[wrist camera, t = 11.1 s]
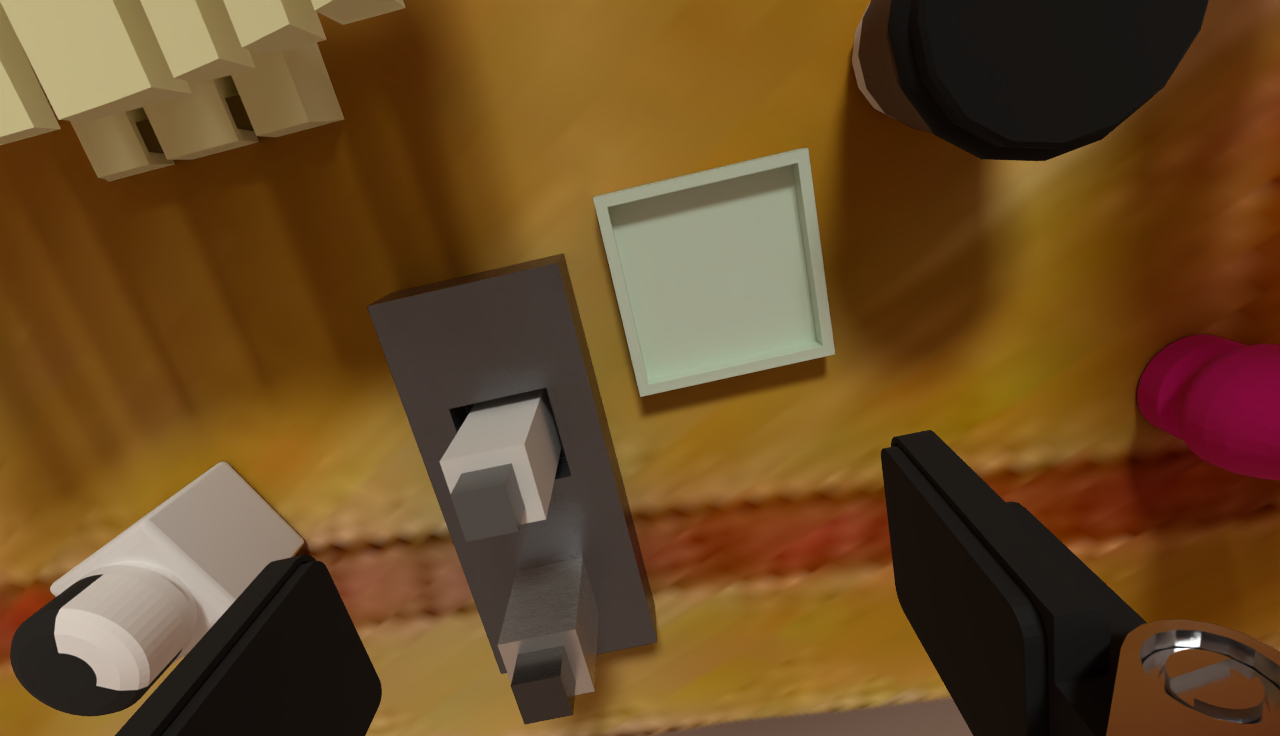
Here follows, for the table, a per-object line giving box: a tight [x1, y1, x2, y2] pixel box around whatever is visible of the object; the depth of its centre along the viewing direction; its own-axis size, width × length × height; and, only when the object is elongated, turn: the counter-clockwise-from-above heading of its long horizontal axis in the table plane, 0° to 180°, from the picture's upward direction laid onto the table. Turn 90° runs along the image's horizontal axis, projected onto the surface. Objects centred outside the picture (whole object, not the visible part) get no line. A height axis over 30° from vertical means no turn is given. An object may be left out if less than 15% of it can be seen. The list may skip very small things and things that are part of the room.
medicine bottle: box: [10, 462, 304, 716], centre depth 34 cm, size 7×7×12 cm
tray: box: [593, 148, 835, 397], centre depth 35 cm, size 11×11×2 cm
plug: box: [440, 388, 561, 542], centre depth 32 cm, size 4×4×10 cm
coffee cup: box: [852, 0, 1208, 161], centre depth 27 cm, size 11×11×12 cm
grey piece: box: [367, 254, 657, 724], centre depth 33 cm, size 24×10×12 cm, turn 13°
